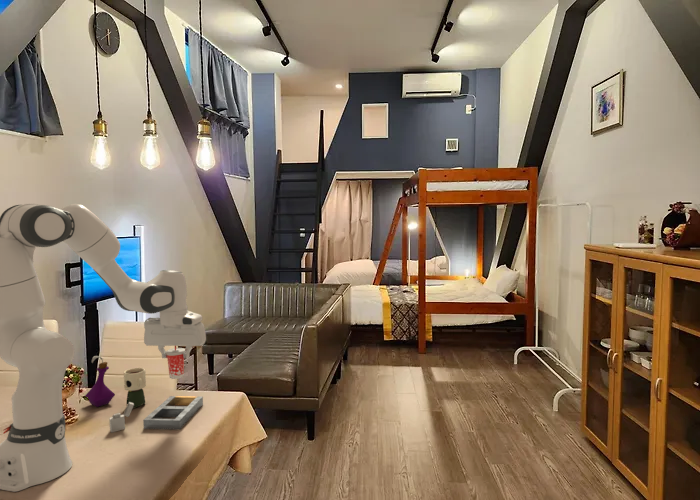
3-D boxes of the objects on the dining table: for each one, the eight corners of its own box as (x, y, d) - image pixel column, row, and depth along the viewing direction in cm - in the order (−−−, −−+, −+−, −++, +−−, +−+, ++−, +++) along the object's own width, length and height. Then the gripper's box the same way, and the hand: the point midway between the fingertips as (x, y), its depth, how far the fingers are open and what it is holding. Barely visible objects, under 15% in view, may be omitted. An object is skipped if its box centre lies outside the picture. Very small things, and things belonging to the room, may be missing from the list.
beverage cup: (184, 379, 156) (182, 337, 154) (164, 380, 155) (162, 338, 154) (188, 372, 162) (186, 333, 160) (169, 373, 161) (167, 334, 160)
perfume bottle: (105, 398, 176) (103, 351, 175) (115, 403, 172) (113, 355, 171) (84, 405, 170) (82, 356, 169) (94, 409, 166) (92, 360, 165)
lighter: (111, 432, 148) (109, 408, 148) (109, 430, 150) (108, 406, 149) (135, 426, 153) (134, 402, 152) (133, 424, 154) (132, 400, 153)
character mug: (120, 404, 171) (118, 369, 170) (140, 398, 176) (138, 365, 175) (131, 413, 163) (130, 376, 162) (152, 407, 168) (150, 371, 167)
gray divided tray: (143, 428, 151) (143, 419, 151) (170, 404, 171) (170, 396, 170) (179, 429, 150) (179, 420, 150) (202, 404, 170) (202, 396, 170)
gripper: (139, 319, 154) (141, 360, 155) (199, 319, 153) (201, 361, 154) (148, 315, 160) (150, 354, 162) (206, 315, 159) (208, 355, 160)
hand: (175, 358), depth 158 cm, fingers closed on beverage cup, 6 cm apart
